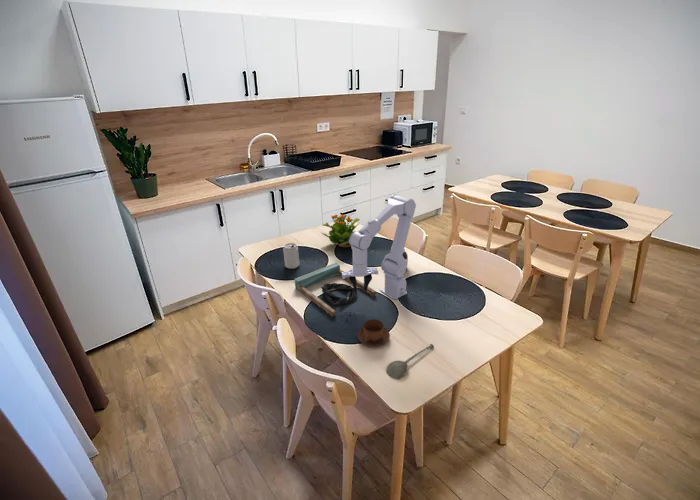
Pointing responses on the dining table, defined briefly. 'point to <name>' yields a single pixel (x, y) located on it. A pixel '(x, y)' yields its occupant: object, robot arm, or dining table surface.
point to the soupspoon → (401, 366)
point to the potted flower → (341, 230)
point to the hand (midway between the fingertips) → (360, 290)
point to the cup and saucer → (373, 333)
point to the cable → (335, 299)
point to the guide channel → (322, 275)
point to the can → (291, 255)
